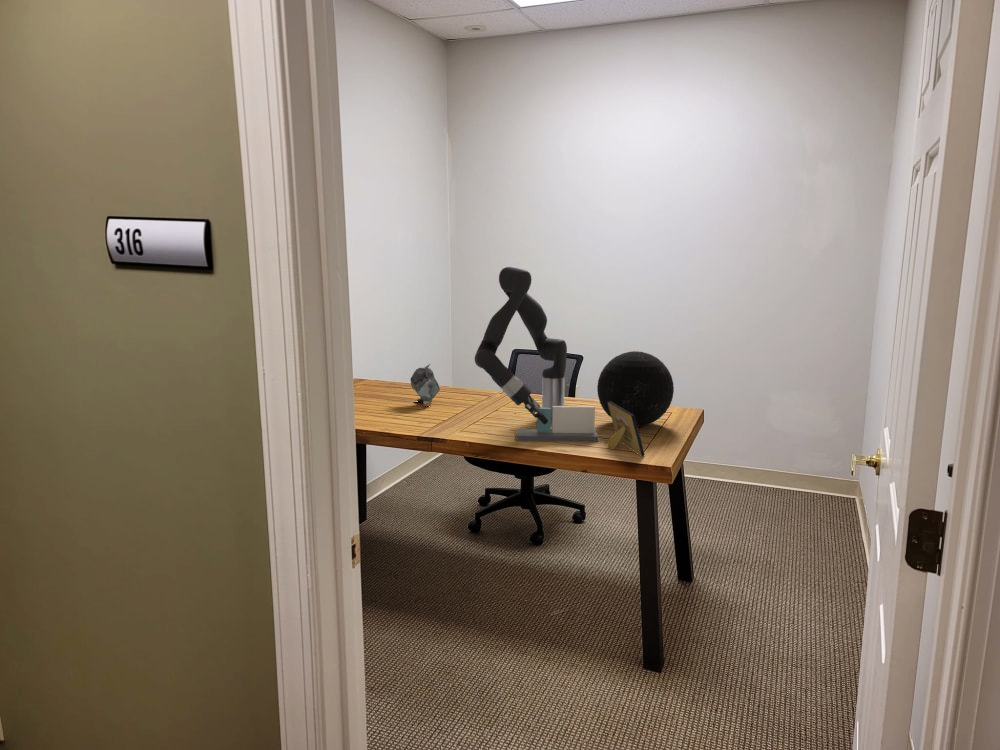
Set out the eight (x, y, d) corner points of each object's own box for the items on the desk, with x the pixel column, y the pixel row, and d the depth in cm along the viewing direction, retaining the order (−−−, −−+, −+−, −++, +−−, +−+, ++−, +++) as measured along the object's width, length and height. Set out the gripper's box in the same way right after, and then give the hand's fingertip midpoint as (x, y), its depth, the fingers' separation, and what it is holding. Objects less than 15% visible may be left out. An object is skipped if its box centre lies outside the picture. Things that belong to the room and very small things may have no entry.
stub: (537, 431, 264) (537, 407, 263) (550, 431, 264) (550, 407, 263) (537, 431, 263) (537, 408, 262) (550, 432, 263) (550, 408, 261)
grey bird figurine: (405, 408, 312) (404, 368, 309) (414, 401, 327) (413, 363, 324) (436, 409, 310) (435, 369, 307) (444, 402, 325) (443, 363, 322)
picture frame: (645, 456, 240) (641, 413, 237) (620, 460, 239) (616, 418, 236) (620, 438, 262) (617, 399, 260) (597, 442, 261) (594, 403, 258)
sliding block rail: (516, 433, 269) (517, 403, 267) (595, 434, 268) (596, 403, 266) (516, 440, 259) (516, 409, 257) (598, 441, 259) (599, 409, 256)
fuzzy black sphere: (682, 422, 287) (686, 350, 282) (655, 439, 262) (659, 359, 257) (614, 413, 303) (616, 344, 298) (583, 428, 278) (585, 353, 273)
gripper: (523, 386, 254) (554, 417, 255) (523, 379, 268) (552, 409, 269) (508, 400, 255) (539, 431, 256) (509, 392, 269) (538, 422, 270)
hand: (546, 420), depth 263 cm, fingers open, 8 cm apart
